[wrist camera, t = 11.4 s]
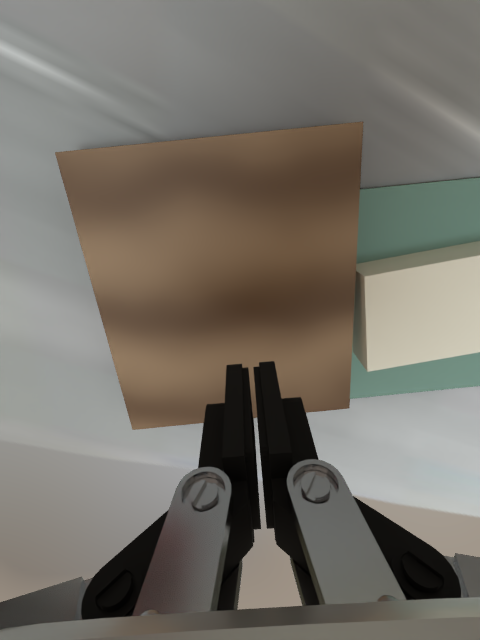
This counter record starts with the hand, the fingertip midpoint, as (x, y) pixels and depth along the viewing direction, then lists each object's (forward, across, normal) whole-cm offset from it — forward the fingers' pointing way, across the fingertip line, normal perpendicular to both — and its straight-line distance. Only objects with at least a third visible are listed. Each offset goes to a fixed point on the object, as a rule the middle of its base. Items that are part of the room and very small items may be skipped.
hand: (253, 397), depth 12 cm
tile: (+10, -12, +1) cm, 16 cm away
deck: (+10, +1, 0) cm, 10 cm away
